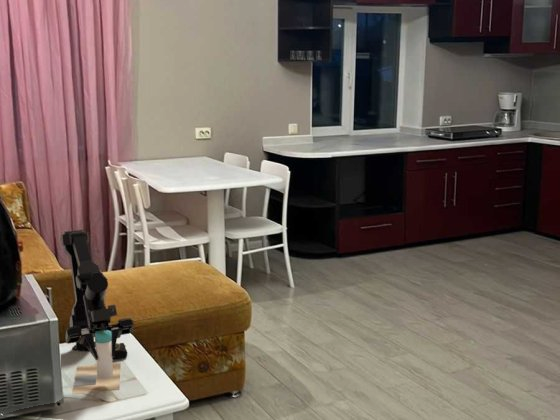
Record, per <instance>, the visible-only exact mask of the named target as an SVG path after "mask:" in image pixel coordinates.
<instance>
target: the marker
mask: <svg viewBox="0 0 560 420" xmlns="http://www.w3.org/2000/svg"><path fill="white" fill-rule="evenodd" d="M111 340H112V333H111V331H109V330H100V331H97V332H96V333H95V334H94V342H96V346H95V349H96V353H97V358H98V359H97V360H95V361H96V365H97V377H98V378H99V379H108V378H111V377H112V376H113V363H114V362H113V360H112V341H111Z"/></svg>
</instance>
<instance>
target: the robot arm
mask: <svg viewBox="0 0 560 420" xmlns="http://www.w3.org/2000/svg"><path fill="white" fill-rule="evenodd" d="M59 236H60V237H59V238H60V240H59V241H60V246H62V248H63V253H65V254H66V256H67V257H68V258H69V261H70V269H71V277H72V284H73V285H72V286H73V292H74V298H75V299H74V300H75V303H74V305H73V307H72V310H71V315H70V318H69V327H67V328H66V332H65V343H66V344H74V343H75V345H73V346H72V347H71V350H75V351H84V352H89V353H90V354H91V355H92V357H93V358H94V359H95V361H96V360H97V359H98V358H97V353H96V342H95V333H96V332H97V331H100V330H109V331H111V333H112V340H111V341H112V356H113V357H114V356H115V348H116V343H117V340H118V339H119V338H121V337H122V335H123V336H124V335H128V334H132V333H133V330H134V327H135V323H134V320H133V318H131V317H126V318H120V319H118V320H117V323H115V324H111V320H112V318H111V317H116V316H117V315H118V314H117V311H118V310H117V307H116V304H112V305H111V304H109V305H108V306H107V307H106V303H105V297H106V294H107V289H108V287H109V282H108V278H107V277H106V276H105V274H104V273H103V272H101V269H100V267H99V265H98V264H96V263H95V262H94V261H93V257H92V255H91V252H90V247H89V243H90V235H89V232H88V231H84V229H75V230H67V231H66V230H65V231H63V234H61V235H59Z"/></svg>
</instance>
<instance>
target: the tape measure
mask: <svg viewBox="0 0 560 420" xmlns="http://www.w3.org/2000/svg"><path fill="white" fill-rule="evenodd" d="M127 350H128V349H126V345H125V342H119V343H117V342H116V348H115V356H114V357H113V356H112V361H115V360H120V359H126V358H127V357H128V351H127Z"/></svg>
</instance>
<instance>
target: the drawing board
mask: <svg viewBox="0 0 560 420" xmlns="http://www.w3.org/2000/svg"><path fill="white" fill-rule="evenodd" d="M112 363H113V376H112V377H111V378H108V379H99V378H98V377H97V364H87V365H77V366H76V370H75V376H74V381H73V386H72V391H71V394H73V395H74V394H84V393H85V394H86V393H99V392H107V391H119V390H120V385H121V366H122V365H121V364H122V363H121V362H112Z"/></svg>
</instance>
